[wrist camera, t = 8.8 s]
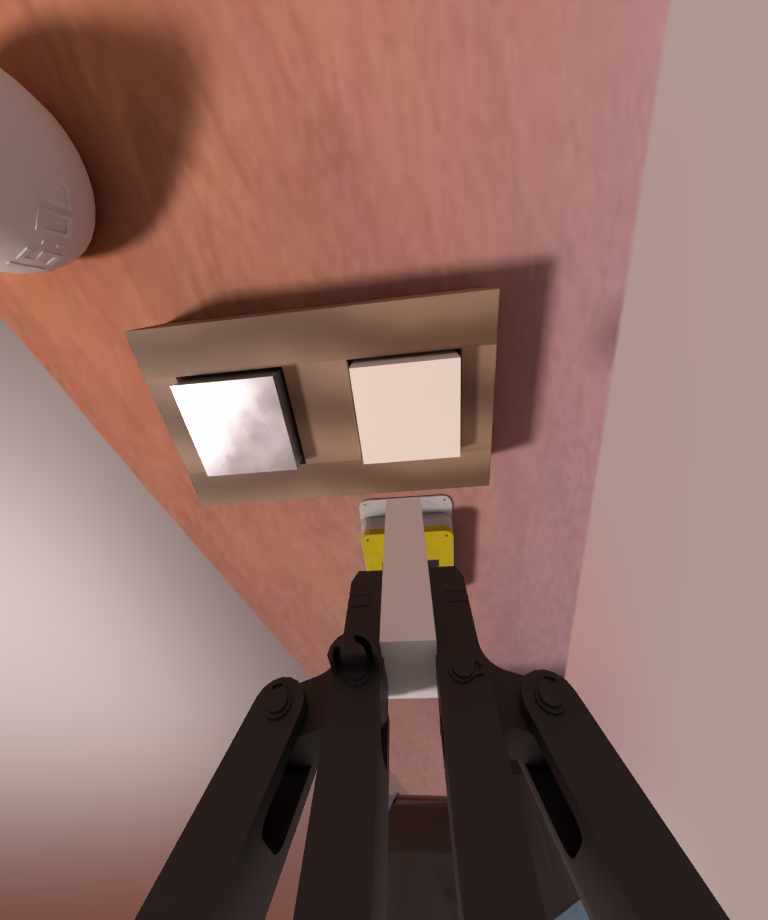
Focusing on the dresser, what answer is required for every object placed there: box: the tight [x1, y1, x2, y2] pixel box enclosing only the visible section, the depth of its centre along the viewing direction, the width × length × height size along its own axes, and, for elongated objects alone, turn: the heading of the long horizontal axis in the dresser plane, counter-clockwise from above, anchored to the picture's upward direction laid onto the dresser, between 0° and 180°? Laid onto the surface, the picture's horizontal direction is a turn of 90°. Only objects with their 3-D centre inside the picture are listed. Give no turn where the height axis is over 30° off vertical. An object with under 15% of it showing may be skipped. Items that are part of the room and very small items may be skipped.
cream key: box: [349, 349, 461, 464], centre depth 24 cm, size 7×7×3 cm
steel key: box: [170, 366, 304, 476], centre depth 25 cm, size 7×7×3 cm
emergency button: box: [359, 495, 454, 571], centre depth 35 cm, size 9×4×15 cm
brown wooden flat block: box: [124, 287, 500, 505], centre depth 26 cm, size 14×24×4 cm, turn 96°
